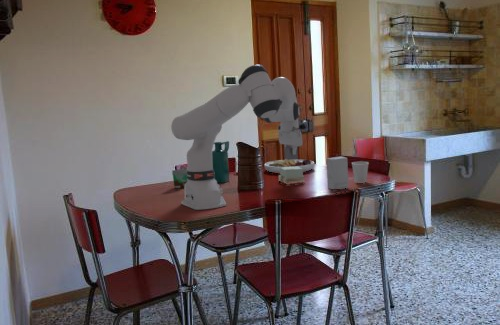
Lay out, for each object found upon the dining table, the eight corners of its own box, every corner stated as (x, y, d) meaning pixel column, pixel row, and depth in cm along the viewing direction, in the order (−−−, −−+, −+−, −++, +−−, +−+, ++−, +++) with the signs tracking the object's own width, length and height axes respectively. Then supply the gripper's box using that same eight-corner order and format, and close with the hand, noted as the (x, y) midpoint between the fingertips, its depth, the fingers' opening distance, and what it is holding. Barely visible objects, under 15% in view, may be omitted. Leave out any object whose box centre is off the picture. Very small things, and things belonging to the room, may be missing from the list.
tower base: (304, 183, 224) (304, 176, 224) (286, 186, 221) (286, 178, 220) (295, 180, 233) (295, 173, 233) (278, 183, 230) (278, 175, 230)
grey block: (297, 158, 224) (297, 147, 223) (289, 159, 222) (288, 148, 221) (293, 157, 228) (293, 146, 227) (284, 158, 227) (284, 147, 226)
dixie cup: (371, 183, 215) (371, 163, 213) (354, 184, 214) (354, 164, 213) (365, 180, 223) (365, 161, 221) (349, 181, 222) (349, 162, 221)
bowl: (255, 174, 262) (254, 160, 260) (280, 166, 286) (280, 154, 285) (299, 176, 244) (299, 162, 243) (322, 168, 269) (322, 155, 268)
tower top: (302, 176, 223) (302, 168, 223) (286, 178, 221) (285, 170, 221) (296, 173, 232) (296, 166, 231) (280, 175, 230) (280, 167, 229)
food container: (184, 189, 223) (183, 170, 222) (173, 189, 224) (172, 170, 223) (192, 185, 235) (191, 166, 234) (181, 185, 236) (180, 166, 235)
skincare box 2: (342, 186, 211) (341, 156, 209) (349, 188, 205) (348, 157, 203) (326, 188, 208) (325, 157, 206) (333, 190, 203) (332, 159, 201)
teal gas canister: (210, 182, 238) (207, 142, 235) (216, 180, 246) (214, 141, 243) (226, 183, 235) (223, 142, 232) (232, 180, 242) (230, 140, 239)
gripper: (305, 127, 214) (306, 155, 216) (286, 125, 233) (287, 151, 235) (293, 128, 212) (294, 156, 214) (276, 126, 231) (277, 152, 233)
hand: (291, 153), depth 225 cm, fingers closed on grey block, 5 cm apart
